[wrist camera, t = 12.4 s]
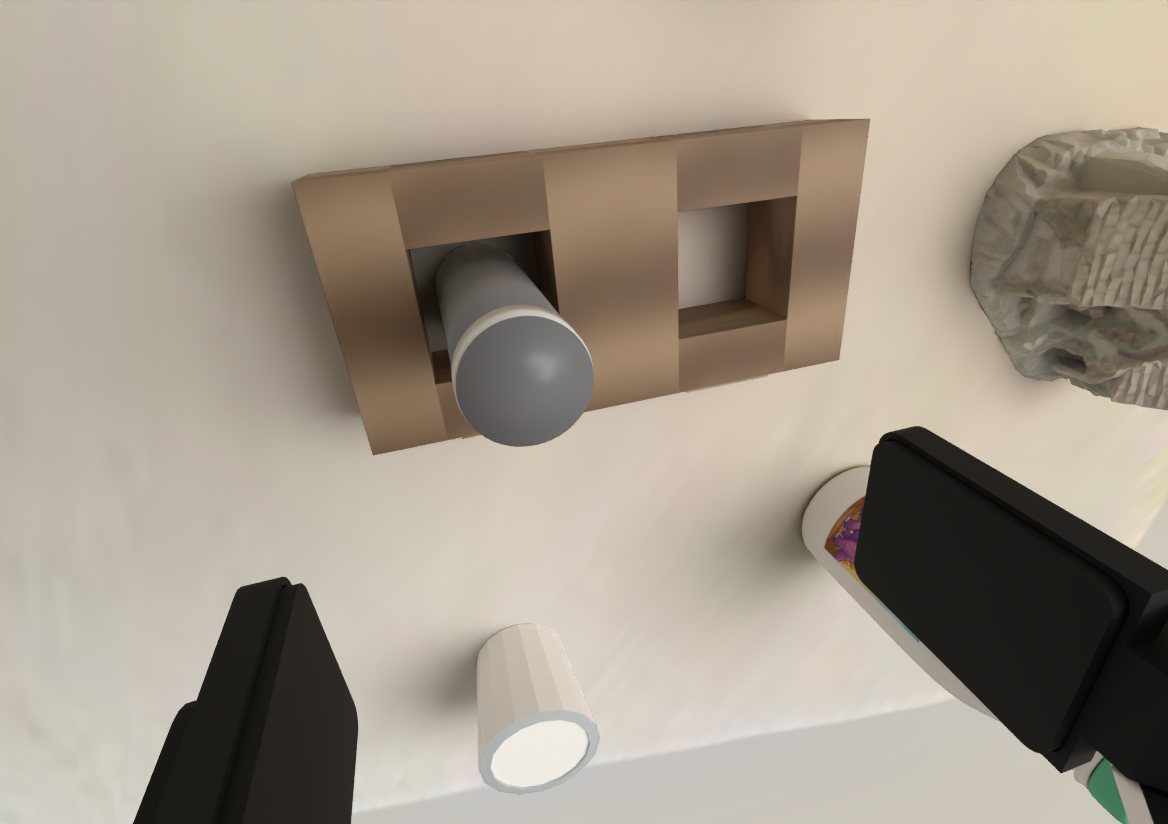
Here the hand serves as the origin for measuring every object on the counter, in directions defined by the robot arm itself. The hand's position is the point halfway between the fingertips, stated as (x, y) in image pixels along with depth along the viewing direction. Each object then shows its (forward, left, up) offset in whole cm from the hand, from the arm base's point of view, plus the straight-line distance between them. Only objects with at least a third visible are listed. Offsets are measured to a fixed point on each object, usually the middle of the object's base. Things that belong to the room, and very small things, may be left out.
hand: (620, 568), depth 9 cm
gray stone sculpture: (+4, +36, -21) cm, 42 cm away
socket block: (0, +5, -20) cm, 21 cm away
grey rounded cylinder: (0, 0, -20) cm, 20 cm away
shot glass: (+25, -2, -21) cm, 32 cm away
